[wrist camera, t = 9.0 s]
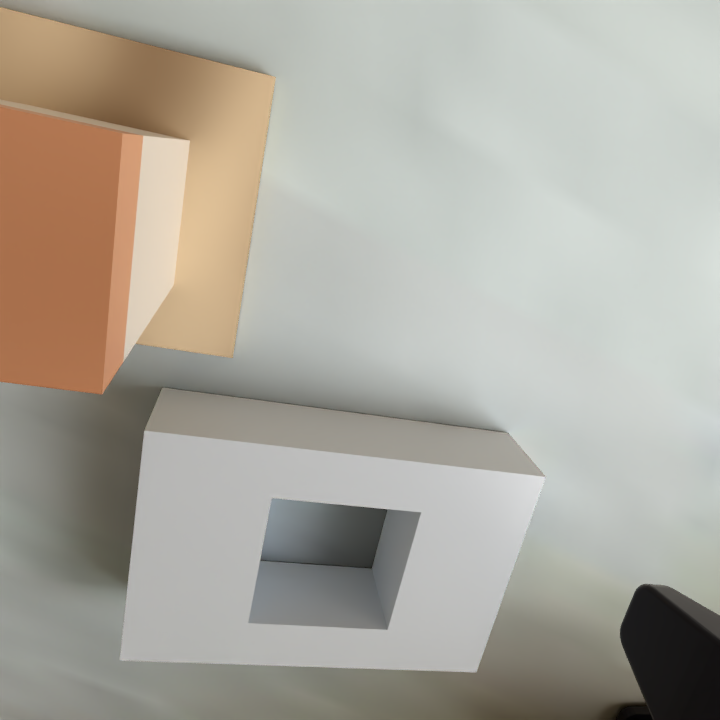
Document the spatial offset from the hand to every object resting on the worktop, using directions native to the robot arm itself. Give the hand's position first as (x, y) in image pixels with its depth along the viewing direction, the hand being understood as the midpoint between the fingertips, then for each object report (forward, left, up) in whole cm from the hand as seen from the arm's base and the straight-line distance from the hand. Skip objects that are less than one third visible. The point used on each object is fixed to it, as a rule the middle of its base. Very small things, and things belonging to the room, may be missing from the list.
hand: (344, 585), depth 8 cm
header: (-2, +6, -11) cm, 13 cm away
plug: (+6, -3, -11) cm, 13 cm away
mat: (+6, -3, -11) cm, 13 cm away
